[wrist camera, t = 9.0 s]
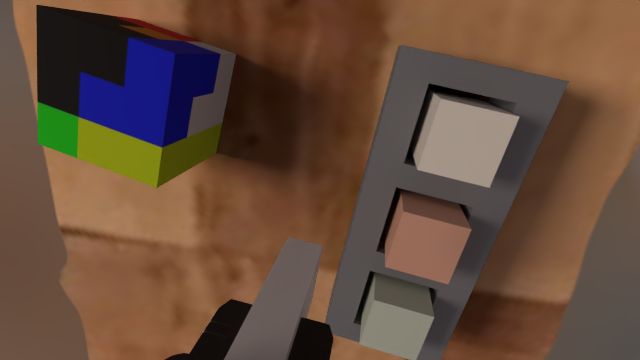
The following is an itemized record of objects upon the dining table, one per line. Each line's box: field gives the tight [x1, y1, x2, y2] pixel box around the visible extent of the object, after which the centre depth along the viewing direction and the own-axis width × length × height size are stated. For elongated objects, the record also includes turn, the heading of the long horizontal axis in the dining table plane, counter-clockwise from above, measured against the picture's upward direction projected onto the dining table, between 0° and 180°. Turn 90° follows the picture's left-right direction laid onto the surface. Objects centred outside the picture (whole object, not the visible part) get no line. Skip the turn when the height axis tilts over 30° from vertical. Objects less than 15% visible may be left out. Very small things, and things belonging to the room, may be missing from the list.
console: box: [325, 45, 569, 360], centre depth 30 cm, size 26×11×6 cm, turn 168°
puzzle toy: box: [37, 5, 236, 188], centre depth 29 cm, size 10×10×10 cm
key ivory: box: [410, 88, 519, 188], centre depth 25 cm, size 5×5×8 cm
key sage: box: [359, 271, 434, 360], centre depth 31 cm, size 5×5×8 cm
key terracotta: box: [385, 187, 472, 284], centre depth 28 cm, size 5×5×8 cm
